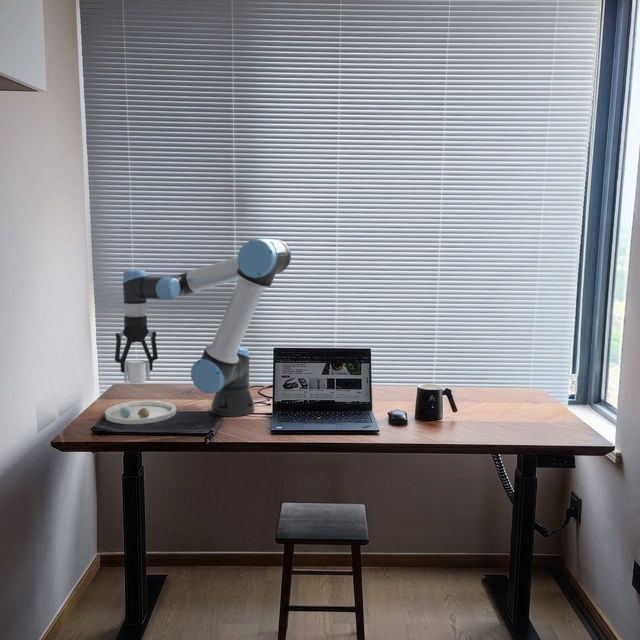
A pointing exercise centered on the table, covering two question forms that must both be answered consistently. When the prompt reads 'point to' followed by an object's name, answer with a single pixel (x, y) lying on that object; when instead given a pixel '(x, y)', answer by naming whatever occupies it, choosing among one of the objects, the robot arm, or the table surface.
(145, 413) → the bead honey
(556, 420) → the table surface
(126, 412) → the bead teal
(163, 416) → the ring tray
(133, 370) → the shot glass
